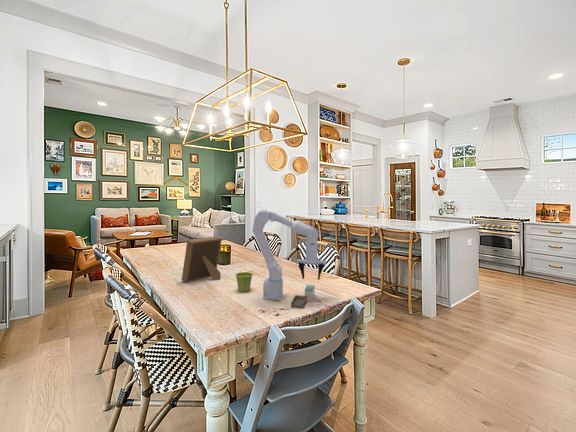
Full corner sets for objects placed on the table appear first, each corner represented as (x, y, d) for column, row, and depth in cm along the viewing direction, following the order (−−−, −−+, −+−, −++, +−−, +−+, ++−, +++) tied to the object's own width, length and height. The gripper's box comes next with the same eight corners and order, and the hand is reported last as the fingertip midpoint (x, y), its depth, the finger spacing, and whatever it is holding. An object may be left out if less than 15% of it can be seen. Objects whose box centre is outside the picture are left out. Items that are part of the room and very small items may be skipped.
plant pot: (256, 290, 159) (256, 274, 159) (242, 294, 152) (242, 277, 152) (245, 286, 166) (245, 271, 165) (231, 290, 159) (231, 274, 158)
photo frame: (181, 281, 174) (181, 239, 173) (211, 273, 192) (211, 235, 190) (197, 286, 166) (197, 241, 164) (227, 278, 183) (227, 237, 182)
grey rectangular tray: (291, 307, 135) (291, 302, 135) (295, 299, 146) (295, 294, 146) (303, 308, 134) (303, 303, 134) (306, 300, 144) (306, 295, 144)
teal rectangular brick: (304, 299, 146) (304, 289, 145) (306, 294, 154) (306, 284, 153) (312, 300, 145) (312, 290, 145) (314, 295, 153) (314, 285, 152)
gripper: (295, 252, 145) (295, 280, 145) (326, 253, 142) (325, 281, 143) (297, 250, 151) (297, 276, 152) (326, 251, 149) (326, 277, 150)
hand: (311, 278), depth 148 cm, fingers open, 7 cm apart
